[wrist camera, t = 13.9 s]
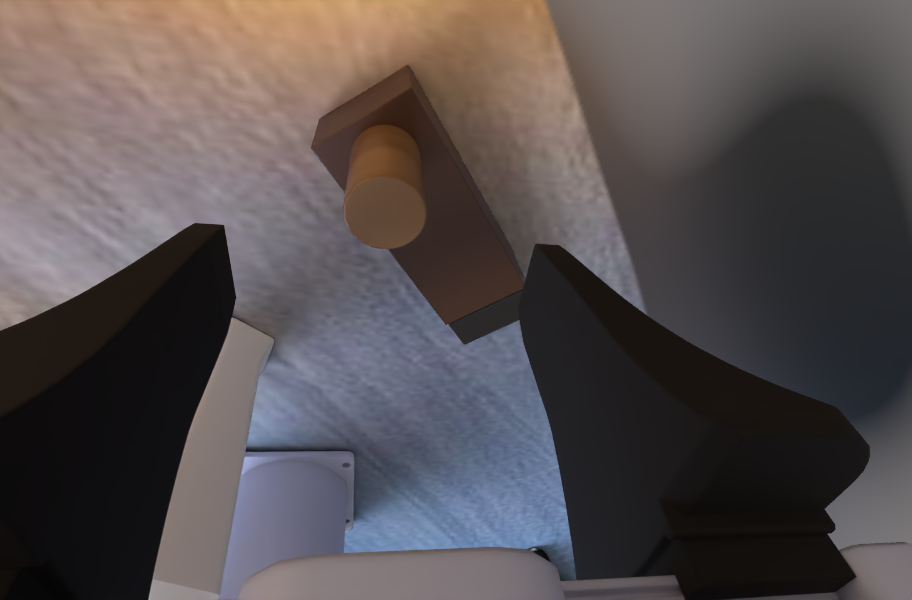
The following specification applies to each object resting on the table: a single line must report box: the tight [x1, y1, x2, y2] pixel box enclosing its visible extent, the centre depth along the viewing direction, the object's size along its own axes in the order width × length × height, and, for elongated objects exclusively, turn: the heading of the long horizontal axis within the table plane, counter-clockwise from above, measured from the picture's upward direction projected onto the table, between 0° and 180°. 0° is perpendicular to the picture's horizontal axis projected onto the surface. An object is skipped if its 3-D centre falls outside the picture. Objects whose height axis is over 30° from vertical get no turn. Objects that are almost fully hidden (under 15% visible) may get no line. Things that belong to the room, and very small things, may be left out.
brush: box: [311, 65, 526, 344], centre depth 20 cm, size 11×4×7 cm, turn 28°
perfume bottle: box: [148, 318, 274, 600], centre depth 20 cm, size 5×4×15 cm
